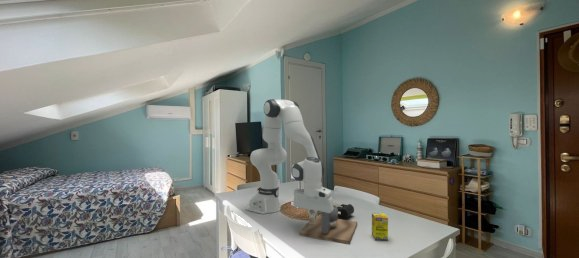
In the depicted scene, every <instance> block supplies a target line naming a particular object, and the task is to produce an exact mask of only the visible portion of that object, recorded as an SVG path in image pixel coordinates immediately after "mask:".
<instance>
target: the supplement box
mask: <svg viewBox="0 0 579 258" xmlns="http://www.w3.org/2000/svg"><path fill="white" fill-rule="evenodd" d="M371 236H372V237H373V239H374V241H386V242H387V241H389V217H388V216H387V215H386V213H384V212H383V213H382V212H381V213H379V212H378V213H377V212H372V213H371Z"/></svg>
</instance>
